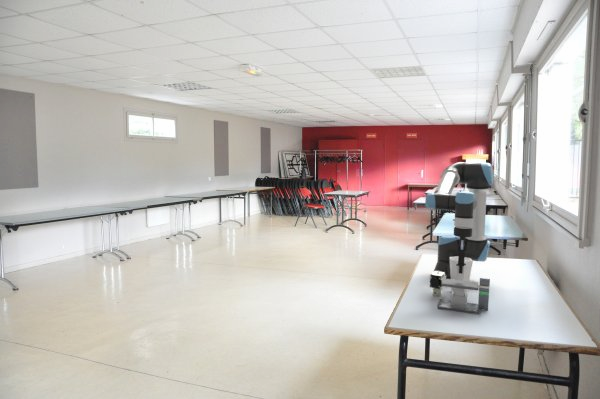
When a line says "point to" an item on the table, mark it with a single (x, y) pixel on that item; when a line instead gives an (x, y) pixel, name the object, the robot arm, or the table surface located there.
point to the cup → (466, 269)
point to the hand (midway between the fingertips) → (460, 279)
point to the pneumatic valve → (437, 282)
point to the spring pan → (461, 285)
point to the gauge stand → (461, 301)
